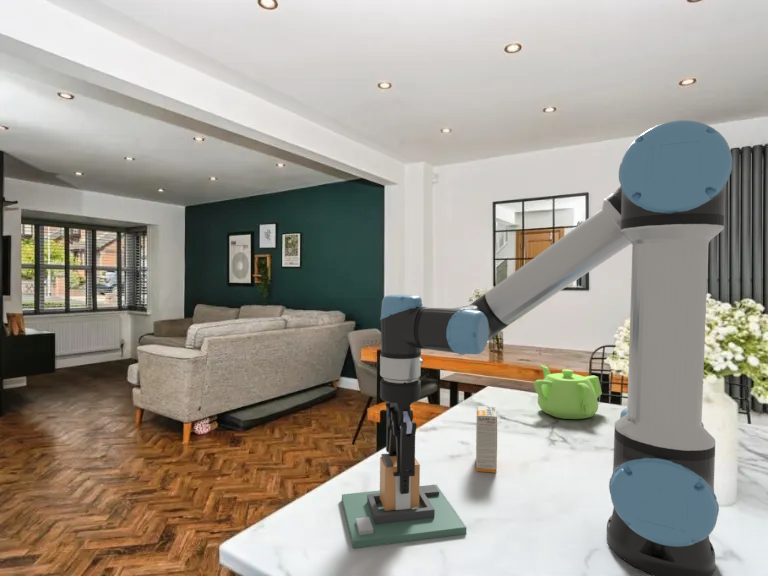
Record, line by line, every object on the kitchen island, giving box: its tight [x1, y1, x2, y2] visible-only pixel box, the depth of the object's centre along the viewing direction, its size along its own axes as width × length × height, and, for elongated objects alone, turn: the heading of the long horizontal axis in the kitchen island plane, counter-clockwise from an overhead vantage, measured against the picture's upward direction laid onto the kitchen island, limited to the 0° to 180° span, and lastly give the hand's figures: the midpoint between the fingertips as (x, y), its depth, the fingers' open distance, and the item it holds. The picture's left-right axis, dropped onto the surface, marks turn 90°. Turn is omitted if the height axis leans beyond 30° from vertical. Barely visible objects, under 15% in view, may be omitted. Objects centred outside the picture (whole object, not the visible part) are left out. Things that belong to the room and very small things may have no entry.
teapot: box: [533, 364, 603, 420], centre depth 145 cm, size 19×20×14 cm
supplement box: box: [475, 405, 498, 474], centre depth 105 cm, size 8×5×13 cm, turn 168°
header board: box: [341, 484, 467, 549], centre depth 83 cm, size 16×20×3 cm
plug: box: [379, 453, 421, 511], centre depth 83 cm, size 4×6×9 cm
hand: (399, 500), depth 83 cm, fingers open, 5 cm apart
